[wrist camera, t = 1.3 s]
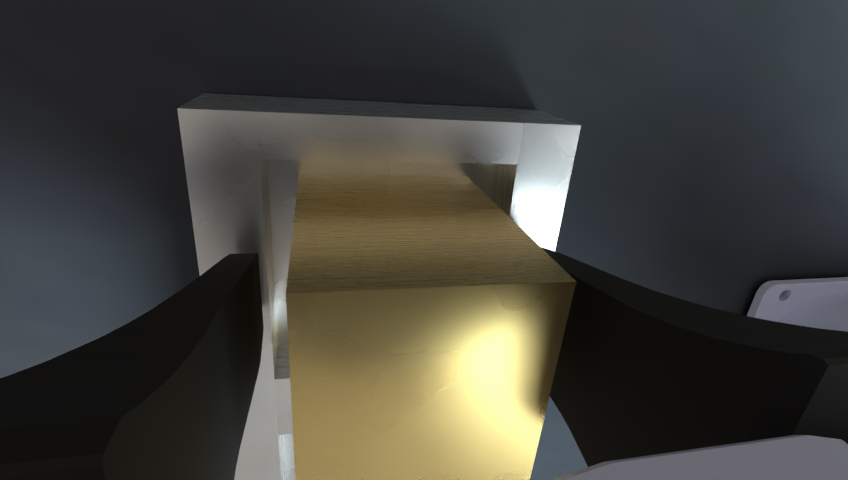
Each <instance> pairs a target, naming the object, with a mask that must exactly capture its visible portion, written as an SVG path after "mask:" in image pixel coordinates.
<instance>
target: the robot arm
mask: <svg viewBox="0 0 848 480" xmlns="http://www.w3.org/2000/svg"><path fill="white" fill-rule="evenodd" d="M541 248H542V247H541ZM542 249H543V250H544V251H545V252H546V253H547V254H548V255H549V256H550V257H551V258H552V259H553V260H554V261H555V262H557V263H558V264H559V265H560V266H561V267H562V268H563V269H564V270H565V271H566V272H567V273H568V274H569V275H570V276H571V277H572V278H573V279H574V280H575V281H576V285H575V289H574V293H573V298H572V302H571V306H570V310H569V315H568V319H567V323H566V327H565V332H564V336H563V340H562V344H561V349H560V353H559V357H558V361H557V366H556V370H555V374H554V378H553V383H552V387H551V391H550V397H551V398H552V400H553V402H554V403H555V405H556V406H557V408H558V410H559V411H560V413H561V414H562V416H563V418H564V420H565V422H566V423H567V425H568V427H569V429H570V430H571V432H572V435H573V437H574V439H575V441H576V443H577V445H578V447H579V449H580V451H581V453H582V455H583V457H584V459H585V461H586V463H587V465H588V467H587V468H584V469H581V470H578V471H575V472H572V473H569V474H566V475H563V476H560V477H557V478H556V479H554V480H848V277H839V278H817V279H795V280H773V281H768V282H765V283H764V284H762V285H761V286H760V287H759V288H758V290H757V292H756V294H755V297H754V299H753V301H752V304H751V306H750V309H749V311H748V313H747V316H744V315H740V314H736V313H731V312H727V311H723V310H718V309H714V308H710V307H706V306H702V305H699V304H695V303H692V302H688V301H685V300H682V299H678V298H675V297H672V296H668V295H665V294H662V293H659V292H656V291H653V290H650V289H648V288H645V287H642V286H640V285H637V284H634V283H632V282H629V281H626V280H624V279H621V278H619V277H616V276H614V275H611V274H609V273H606V272H604V271H602V270H599V269H597V268H594V267H592V266H590V265H587V264H585V263H583V262H580V261H578V260H575V259H573V258H571V257H568V256H566V255H563V254H560V253H558V252H555V251H552V250H549V249H546V248H542ZM263 331H264V325H263V312H262V299H261V285H260V272H259V259H258V253H245V254H229V255H227V256H226V257H224V258H223V259H221V260H220V261H219V262H217V263H216V264H215V265H214V266H212V267H211V268H210V269H208V270H207V271H206V272H205V273H203V274H202V275H201V276H199V277H198V278H197V279H195V280H194V281H193V282H191V283H190V284H189V285H187V286H186V287H185V288H183V289H182V290H180V291H179V292H177V293H176V294H174V295H173V296H171V297H170V298H168V299H167V300H165V301H164V302H162V303H161V304H159V305H158V306H156V307H155V308H153V309H152V310H150V311H148V312H147V313H145V314H143V315H142V316H140V317H138V318H137V319H135V320H133V321H131V322H130V323H128V324H126V325H124V326H122V327H120V328H118V329H116V330H114V331H112V332H111V333H109V334H107V335H105V336H103V337H101V338H99V339H96V340H94V341H92V342H90V343H87V344H85V345H83V346H81V347H78V348H76V349H74V350H71V351H69V352H67V353H65V354H62V355H60V356H58V357H55V358H53V359H51V360H49V361H46V362H44V363H41V364H39V365H36V366H33V367H31V368H28V369H25V370H23V371H20V372H17V373H15V374H12V375H9V376H6V377H3V378H0V480H234V478H235V471H236V465H237V460H238V455H239V450H240V446H241V442H242V438H243V433H244V429H245V425H246V421H247V417H248V413H249V409H250V405H251V401H252V397H253V393H254V388H255V384H256V380H257V376H258V372H259V367H260V361H261V352H262V342H263Z"/></svg>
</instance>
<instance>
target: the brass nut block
mask: <svg viewBox="0 0 848 480" xmlns="http://www.w3.org/2000/svg"><path fill="white" fill-rule="evenodd" d="M575 285H576V281H575V280H574V279H573V278H572V277H571V276H570V275H569V274H568V273H567V272H566V271H565V270H564V269H563V268H562V267H561V266H560V265H559V264H558V263H557V262H555V261H554V260H553V259H552V258H551V257H550V256H549V255H548V254H547V253H546V252H545V251H544V250H543V249H542V248H541V247H540V246H539V245H538V244H537V243H536V242H535V241H534V240H533V239H532V238H531V237H529V236H528V235H527V234H526V233H525V232H524V231H523V230H522V229H521V228H520V227H519V226H518V225H517V224H516V223H515V222H514V221H513V220H512V219H511V218H510V217H509V216H508V215H507V214H506V213H505V212H503V211H502V210H501V209H500V208H499V207H498V206H497V205H496V204H495V203H494V202H493V201H492V200H491V199H490V198H489V197H488V196H487V195H486V194H485V193H484V192H483V191H482V190H481V189H480V188H479V187H478V186H476V185H475V184H474V183H473V182H472V181H471V180H470V179H469V178H468V177H467V176H405V175H334V174H299V176H298V185H297V194H296V204H295V213H294V222H293V231H292V241H291V250H290V259H289V269H288V278H287V287H286V307H287V327H288V346H289V366H290V386H291V406H292V425H293V445H294V465H295V480H526V479H530V476H531V472H532V468H533V464H534V459H535V455H536V451H537V447H538V442H539V438H540V434H541V430H542V425H543V421H544V417H545V412H546V408H547V404H548V400H549V395H550V391H551V387H552V383H553V378H554V374H555V370H556V366H557V361H558V357H559V353H560V349H561V344H562V340H563V336H564V332H565V327H566V323H567V319H568V315H569V310H570V306H571V302H572V298H573V293H574V289H575Z"/></svg>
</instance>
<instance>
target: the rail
mask: <svg viewBox="0 0 848 480" xmlns="http://www.w3.org/2000/svg"><path fill="white" fill-rule="evenodd" d="M177 110H178V118H179V125H180V133H181V140H182V148H183V155H184V163H185V170H186V178H187V185H188V193H189V200H190V208H191V215H192V222H193V230H194V237H195V245H196V252H197V260H198V267H199V275H200V276H201V275H202V274H203V273H205V272H206V271H207V270H208V269H210V268H211V267H212V266H214V265H215V264H216V263H217V262H219V261H220V260H221V259H223V258H224V257H226V256H227V255H229V254H245V253H258V259H259V272H260V285H261V299H262V312H263V325H264V331H263V342H262V352H261V361H260V367H259V372H258V376H257V380H256V384H255V388H254V393H253V397H252V401H251V405H250V409H249V413H248V417H247V421H246V425H245V429H244V433H243V438H242V442H241V446H240V450H239V455H238V460H237V465H236V471H235V478H234V480H295V465H294V445H293V425H292V406H291V386H290V366H289V346H288V327H287V307H286V287H287V278H288V269H289V259H290V250H291V241H292V231H293V222H294V213H295V204H296V194H297V185H298V176H299V174H334V175H405V176H467V177H468V178H469V179H470V180H471V181H472V182H473V183H474V184H475V185H476V186H478V187H479V188H480V189H481V190H482V191H483V192H484V193H485V194H486V195H487V196H488V197H489V198H490V199H491V200H492V201H493V202H494V203H495V204H496V205H497V206H498V207H499V208H500V209H501V210H502V211H503V212H505V213H506V214H507V215H508V216H509V217H510V218H511V219H512V220H513V221H514V222H515V223H516V224H517V225H518V226H519V227H520V228H521V229H522V230H523V231H524V232H525V233H526V234H527V235H528V236H529V237H531V238H532V239H533V240H534V241H535V242H536V243H537V244H538V245H539V246H540V247H542V248H546V249H549V250H552V251H555V249H556V244H557V239H558V234H559V230H560V225H561V220H562V215H563V210H564V206H565V201H566V196H567V191H568V186H569V182H570V177H571V172H572V167H573V162H574V158H575V153H576V148H577V143H578V138H579V133H580V129H581V125H579V124H576V123H573V122H570V121H567V120H565V119H562V118H559V117H556V116H554V115H551V114H548V113H545V112H542V111H540V110H535V109H515V108H495V107H475V106H455V105H434V104H414V103H394V102H374V101H354V100H334V99H314V98H294V97H273V96H253V95H233V94H213V93H203V94H201V95H199V96H198V97H196V98H194V99H193V100H191V101H189V102H187V103H186V104H184V105H182V106H180V107H179V108H177Z"/></svg>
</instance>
